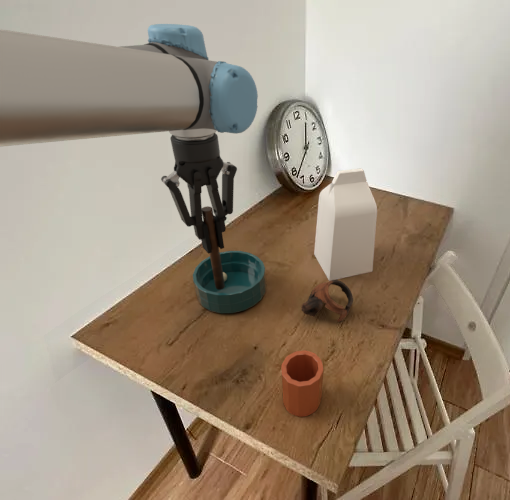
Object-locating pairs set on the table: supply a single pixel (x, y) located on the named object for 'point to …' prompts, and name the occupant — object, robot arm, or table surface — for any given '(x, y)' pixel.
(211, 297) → the bowl
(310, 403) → the crock
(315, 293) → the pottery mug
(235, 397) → the table surface
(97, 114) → the robot arm
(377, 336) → the table surface
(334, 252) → the milk
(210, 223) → the stirring stick
